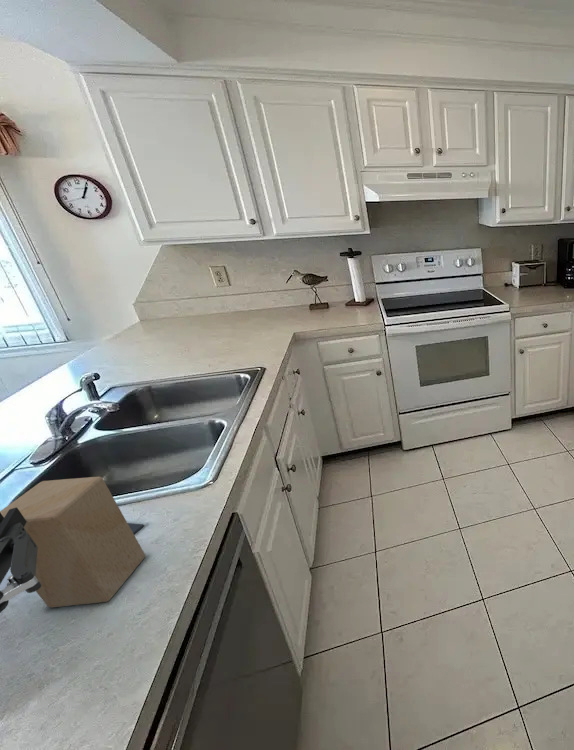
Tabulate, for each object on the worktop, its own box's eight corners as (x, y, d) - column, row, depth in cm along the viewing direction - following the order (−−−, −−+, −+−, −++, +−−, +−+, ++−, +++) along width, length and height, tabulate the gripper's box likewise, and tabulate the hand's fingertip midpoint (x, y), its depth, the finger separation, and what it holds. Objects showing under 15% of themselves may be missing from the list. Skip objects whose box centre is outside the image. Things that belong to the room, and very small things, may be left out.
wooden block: (147, 555, 81) (102, 475, 72) (109, 602, 72) (52, 516, 63) (93, 561, 80) (41, 480, 71) (47, 609, 71) (-19, 523, 62)
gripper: (-169, 737, 38) (-48, 560, 56) (40, 649, 45) (88, 517, 63) (-234, 690, 35) (-84, 519, 53) (2, 603, 41) (64, 478, 59)
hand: (9, 518), depth 58 cm, fingers closed
